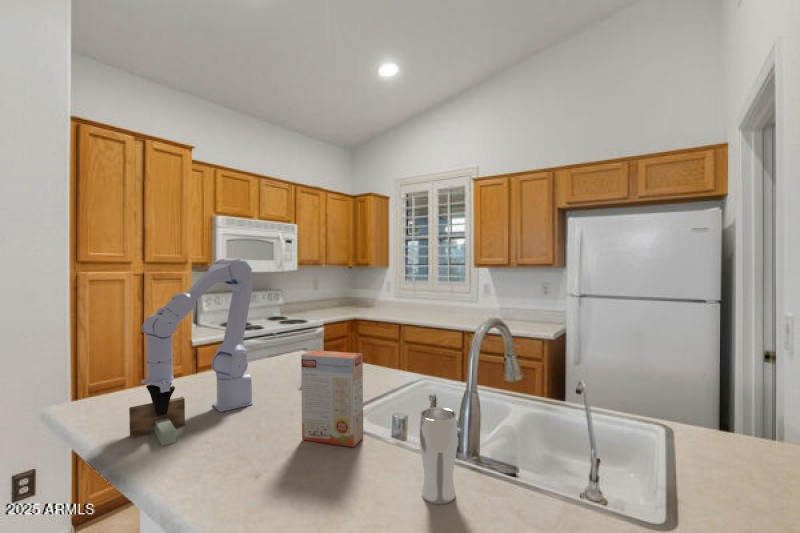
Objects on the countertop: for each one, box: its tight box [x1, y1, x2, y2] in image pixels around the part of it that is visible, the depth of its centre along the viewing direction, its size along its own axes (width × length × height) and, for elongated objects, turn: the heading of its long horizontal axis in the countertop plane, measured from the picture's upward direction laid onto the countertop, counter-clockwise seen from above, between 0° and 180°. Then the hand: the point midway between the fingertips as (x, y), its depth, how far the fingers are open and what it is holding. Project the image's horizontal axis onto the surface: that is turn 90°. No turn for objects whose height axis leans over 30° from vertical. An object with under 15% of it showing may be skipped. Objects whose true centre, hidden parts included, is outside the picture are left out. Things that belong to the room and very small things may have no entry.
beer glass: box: [418, 406, 458, 505], centre depth 73 cm, size 7×7×15 cm
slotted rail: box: [151, 418, 177, 447], centre depth 103 cm, size 3×22×3 cm, turn 40°
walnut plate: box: [128, 396, 186, 439], centre depth 103 cm, size 12×2×7 cm, turn 130°
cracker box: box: [300, 349, 364, 448], centre depth 97 cm, size 14×6×21 cm, turn 71°
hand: (160, 413), depth 103 cm, fingers open, 2 cm apart
